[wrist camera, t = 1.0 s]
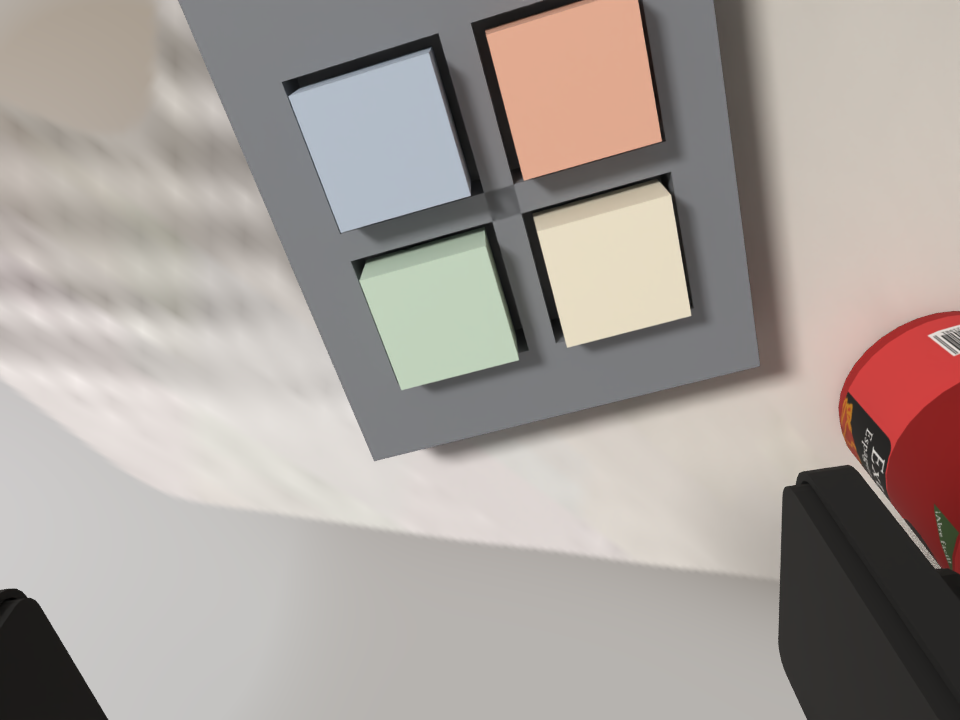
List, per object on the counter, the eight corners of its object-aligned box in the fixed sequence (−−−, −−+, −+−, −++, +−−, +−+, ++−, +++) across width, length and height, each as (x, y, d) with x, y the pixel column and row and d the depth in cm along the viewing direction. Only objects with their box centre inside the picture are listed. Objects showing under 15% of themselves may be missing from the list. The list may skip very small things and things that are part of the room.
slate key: (470, 179, 25) (470, 195, 23) (349, 214, 26) (340, 232, 24) (432, 46, 23) (428, 52, 22) (301, 86, 24) (288, 96, 22)
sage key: (515, 335, 28) (519, 360, 26) (405, 363, 28) (401, 390, 27) (484, 226, 26) (485, 245, 24) (366, 259, 27) (359, 280, 25)
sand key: (677, 293, 27) (691, 316, 25) (561, 323, 28) (566, 347, 26) (656, 178, 25) (670, 194, 24) (532, 213, 26) (537, 231, 24)
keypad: (734, 331, 30) (759, 366, 28) (382, 420, 32) (374, 461, 30) (665, -158, 23) (690, -174, 20) (208, -7, 25) (176, -3, 22)
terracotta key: (647, 128, 25) (662, 141, 23) (520, 165, 25) (523, 180, 23) (623, -14, 23) (636, -12, 21) (484, 29, 23) (486, 35, 21)
